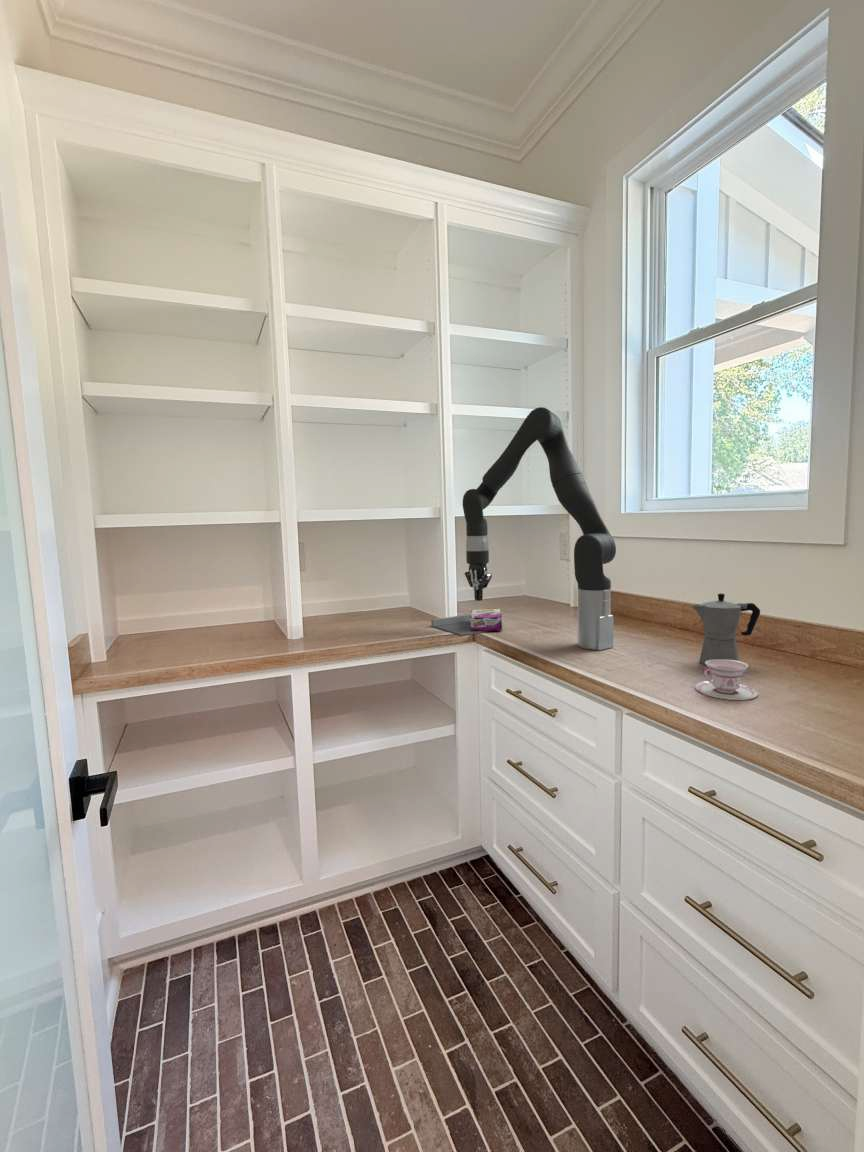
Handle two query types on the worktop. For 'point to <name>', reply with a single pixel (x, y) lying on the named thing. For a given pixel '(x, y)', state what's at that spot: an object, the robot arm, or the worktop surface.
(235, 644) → the worktop surface
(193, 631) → the worktop surface
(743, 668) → the teacup
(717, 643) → the coffeepot
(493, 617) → the candy bar box
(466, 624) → the mat
